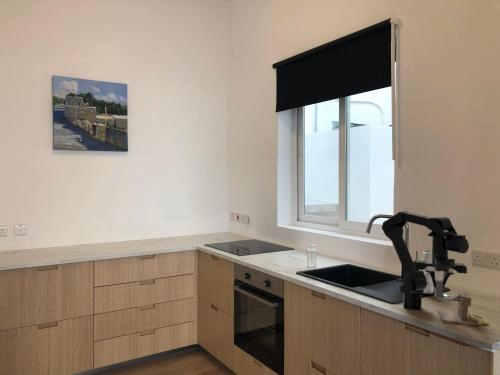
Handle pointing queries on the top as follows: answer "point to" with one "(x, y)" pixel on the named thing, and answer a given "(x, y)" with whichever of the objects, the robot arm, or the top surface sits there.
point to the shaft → (440, 293)
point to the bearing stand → (459, 312)
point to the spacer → (477, 318)
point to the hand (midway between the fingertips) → (438, 288)
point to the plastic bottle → (427, 259)
